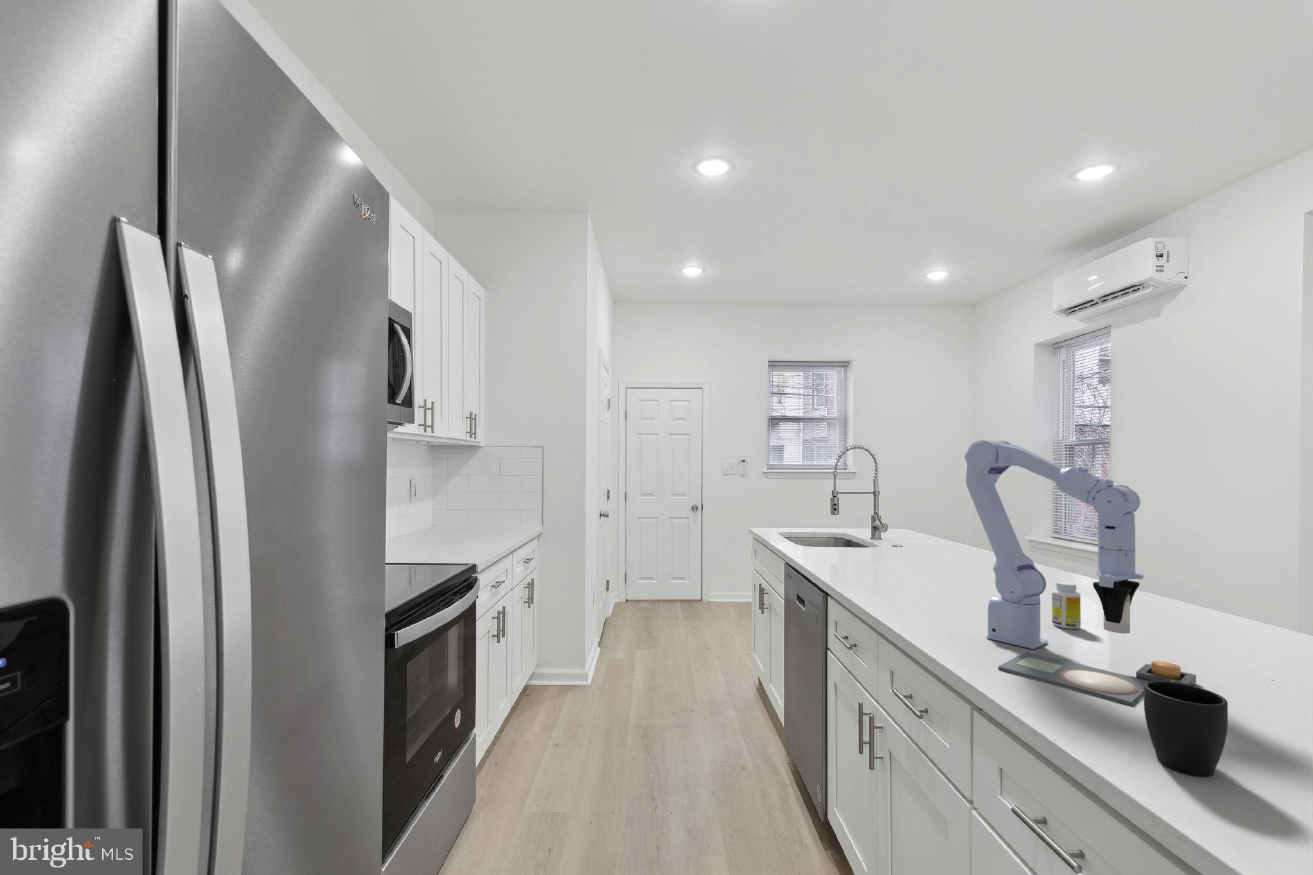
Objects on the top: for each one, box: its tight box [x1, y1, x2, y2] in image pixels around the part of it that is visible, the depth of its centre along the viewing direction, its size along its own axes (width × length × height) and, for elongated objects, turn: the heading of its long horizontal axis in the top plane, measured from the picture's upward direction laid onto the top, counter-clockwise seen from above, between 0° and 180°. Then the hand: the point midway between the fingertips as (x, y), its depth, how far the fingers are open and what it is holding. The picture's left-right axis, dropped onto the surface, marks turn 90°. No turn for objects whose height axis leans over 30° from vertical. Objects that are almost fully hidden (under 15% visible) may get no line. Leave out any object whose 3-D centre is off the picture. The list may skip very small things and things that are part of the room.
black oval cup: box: [1143, 680, 1229, 778], centre depth 79 cm, size 8×12×10 cm
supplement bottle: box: [1051, 580, 1082, 630], centre depth 141 cm, size 6×6×10 cm
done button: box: [1150, 660, 1182, 679], centre depth 107 cm, size 4×4×2 cm
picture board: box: [997, 651, 1149, 707], centre depth 109 cm, size 20×14×1 cm
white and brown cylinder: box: [1103, 594, 1131, 634], centre depth 115 cm, size 4×4×7 cm
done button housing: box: [1135, 663, 1197, 686], centre depth 107 cm, size 7×7×2 cm
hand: (1116, 620), depth 114 cm, fingers closed on white and brown cylinder, 4 cm apart
